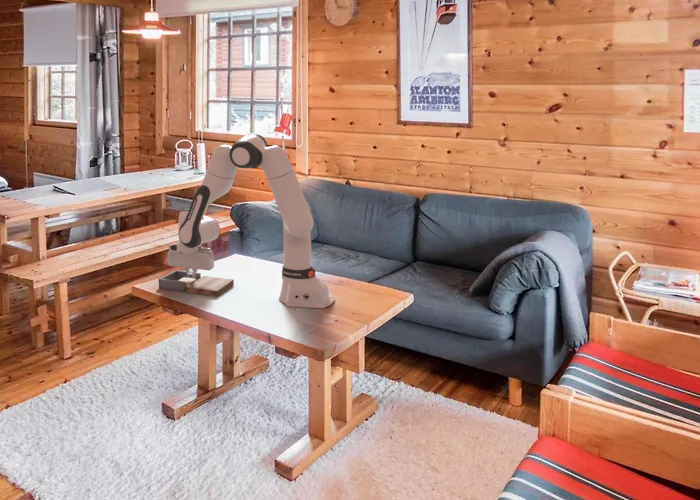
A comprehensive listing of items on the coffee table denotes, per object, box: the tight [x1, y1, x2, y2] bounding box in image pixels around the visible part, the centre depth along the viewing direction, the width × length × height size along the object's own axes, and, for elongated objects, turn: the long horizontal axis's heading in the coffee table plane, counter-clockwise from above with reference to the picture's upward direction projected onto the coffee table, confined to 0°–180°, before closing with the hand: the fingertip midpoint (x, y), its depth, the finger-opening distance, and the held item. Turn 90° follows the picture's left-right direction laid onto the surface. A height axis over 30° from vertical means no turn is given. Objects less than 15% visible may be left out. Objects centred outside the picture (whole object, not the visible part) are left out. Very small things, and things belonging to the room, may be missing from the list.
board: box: [185, 275, 235, 297], centre depth 269 cm, size 14×16×2 cm
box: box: [158, 269, 202, 293], centre depth 272 cm, size 12×14×4 cm
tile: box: [178, 277, 196, 286], centre depth 271 cm, size 6×6×2 cm
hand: (191, 277), depth 270 cm, fingers closed
